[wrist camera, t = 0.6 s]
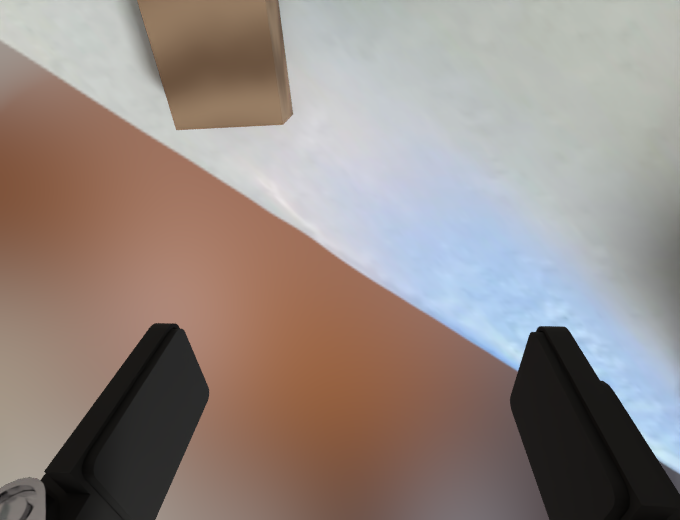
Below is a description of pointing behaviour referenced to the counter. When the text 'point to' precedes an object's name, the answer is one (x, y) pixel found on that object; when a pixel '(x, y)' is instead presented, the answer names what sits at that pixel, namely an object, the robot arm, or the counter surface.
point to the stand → (220, 61)
